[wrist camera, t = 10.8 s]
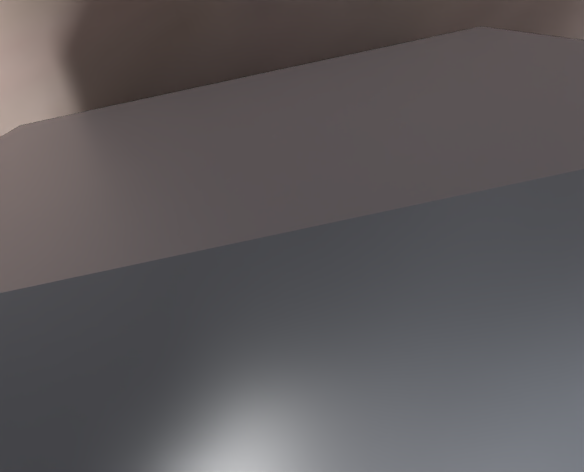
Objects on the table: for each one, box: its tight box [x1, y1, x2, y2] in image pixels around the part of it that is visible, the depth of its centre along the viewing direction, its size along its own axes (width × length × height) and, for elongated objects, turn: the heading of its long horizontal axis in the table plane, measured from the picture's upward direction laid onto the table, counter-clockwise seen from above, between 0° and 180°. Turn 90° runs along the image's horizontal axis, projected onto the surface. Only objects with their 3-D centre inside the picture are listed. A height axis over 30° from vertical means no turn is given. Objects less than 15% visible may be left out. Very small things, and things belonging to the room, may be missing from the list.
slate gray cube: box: [0, 26, 584, 472], centre depth 10 cm, size 10×10×9 cm
